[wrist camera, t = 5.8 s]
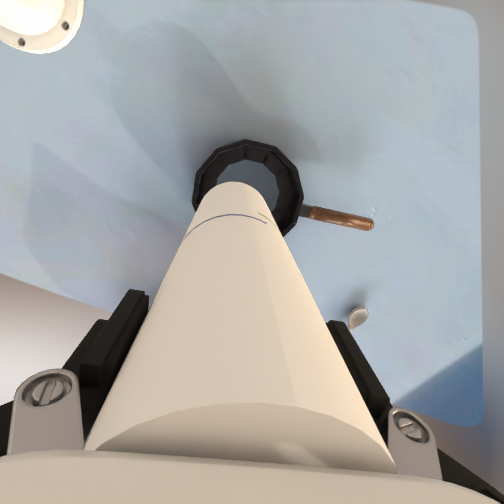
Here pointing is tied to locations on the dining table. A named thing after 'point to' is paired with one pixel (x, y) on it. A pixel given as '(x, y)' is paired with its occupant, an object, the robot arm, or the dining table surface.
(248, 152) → the pan
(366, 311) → the spoon
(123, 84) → the dining table surface
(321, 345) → the cylindrical container
